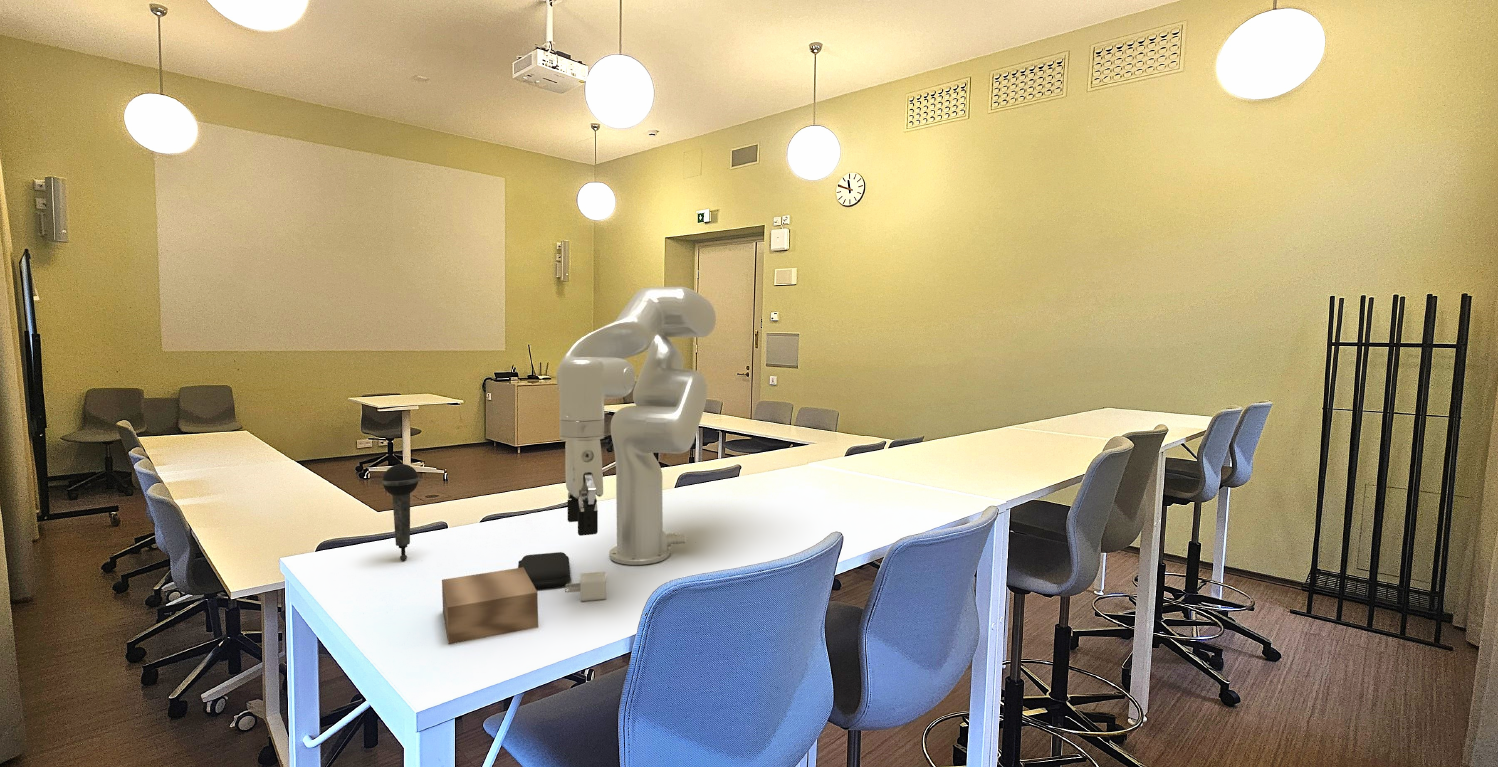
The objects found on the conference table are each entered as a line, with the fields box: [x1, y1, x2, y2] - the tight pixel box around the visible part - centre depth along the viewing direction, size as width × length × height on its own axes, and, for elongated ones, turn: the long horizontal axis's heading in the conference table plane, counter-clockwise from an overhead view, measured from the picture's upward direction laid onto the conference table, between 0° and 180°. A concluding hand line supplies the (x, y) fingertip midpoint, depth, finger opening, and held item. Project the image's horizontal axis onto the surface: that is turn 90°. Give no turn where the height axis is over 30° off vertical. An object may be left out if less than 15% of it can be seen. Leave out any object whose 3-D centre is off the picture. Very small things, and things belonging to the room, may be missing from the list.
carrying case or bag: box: [517, 551, 572, 590], centre depth 129 cm, size 11×3×15 cm
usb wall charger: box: [564, 571, 607, 602], centre depth 119 cm, size 4×7×4 cm, turn 103°
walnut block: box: [441, 567, 539, 645], centre depth 109 cm, size 13×13×6 cm
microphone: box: [381, 463, 420, 562], centre depth 137 cm, size 7×7×20 cm
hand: (582, 527), depth 117 cm, fingers open, 9 cm apart
